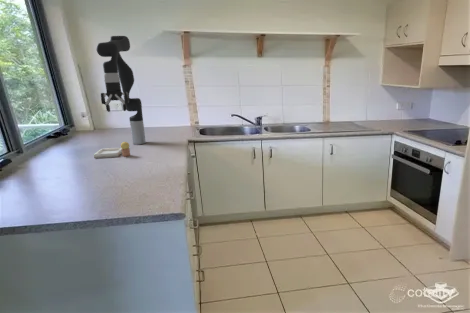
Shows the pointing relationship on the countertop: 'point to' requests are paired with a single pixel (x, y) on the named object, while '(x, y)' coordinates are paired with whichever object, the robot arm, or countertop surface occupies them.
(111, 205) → the countertop surface
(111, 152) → the tray
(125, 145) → the ball
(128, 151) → the cup
